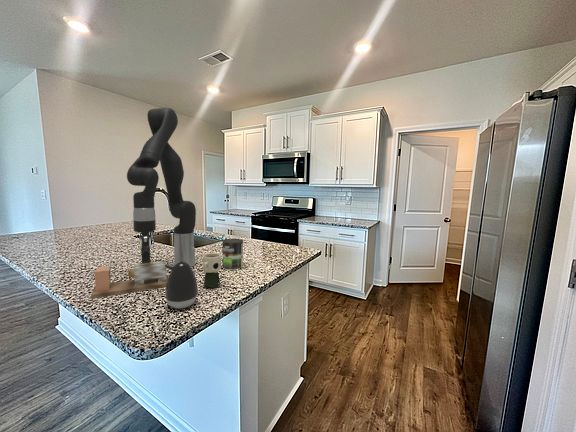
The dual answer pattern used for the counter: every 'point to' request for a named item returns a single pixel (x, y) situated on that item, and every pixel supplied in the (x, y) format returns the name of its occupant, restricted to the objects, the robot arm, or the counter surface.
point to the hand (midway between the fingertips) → (145, 259)
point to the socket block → (102, 278)
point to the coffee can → (232, 254)
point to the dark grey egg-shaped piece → (181, 286)
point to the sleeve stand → (138, 280)
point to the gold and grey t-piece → (131, 271)
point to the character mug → (211, 269)
